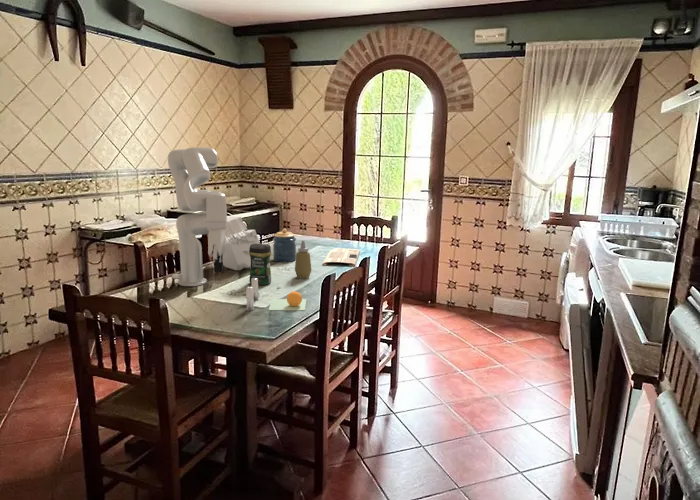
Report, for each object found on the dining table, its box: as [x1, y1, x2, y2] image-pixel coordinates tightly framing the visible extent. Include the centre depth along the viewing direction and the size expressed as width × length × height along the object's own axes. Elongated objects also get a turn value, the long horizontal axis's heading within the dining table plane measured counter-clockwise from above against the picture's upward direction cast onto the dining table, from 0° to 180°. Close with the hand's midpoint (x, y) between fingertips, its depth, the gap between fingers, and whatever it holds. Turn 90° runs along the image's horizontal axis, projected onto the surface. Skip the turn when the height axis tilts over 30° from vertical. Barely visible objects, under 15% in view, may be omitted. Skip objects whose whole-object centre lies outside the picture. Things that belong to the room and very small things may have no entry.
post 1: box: [245, 286, 255, 312], centre depth 193 cm, size 3×3×9 cm
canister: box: [272, 228, 297, 263], centre depth 279 cm, size 13×13×18 cm
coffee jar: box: [249, 243, 272, 286], centre depth 229 cm, size 10×8×19 cm
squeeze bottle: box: [294, 240, 312, 279], centre depth 242 cm, size 8×8×18 cm
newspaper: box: [321, 248, 361, 267], centre depth 286 cm, size 37×19×3 cm, turn 175°
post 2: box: [250, 278, 259, 302], centre depth 205 cm, size 3×3×9 cm
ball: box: [286, 290, 303, 307], centre depth 198 cm, size 6×6×6 cm
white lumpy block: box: [223, 215, 261, 271], centre depth 258 cm, size 20×16×25 cm
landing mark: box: [268, 298, 307, 311], centre depth 201 cm, size 14×14×1 cm
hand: (218, 271), depth 197 cm, fingers closed
